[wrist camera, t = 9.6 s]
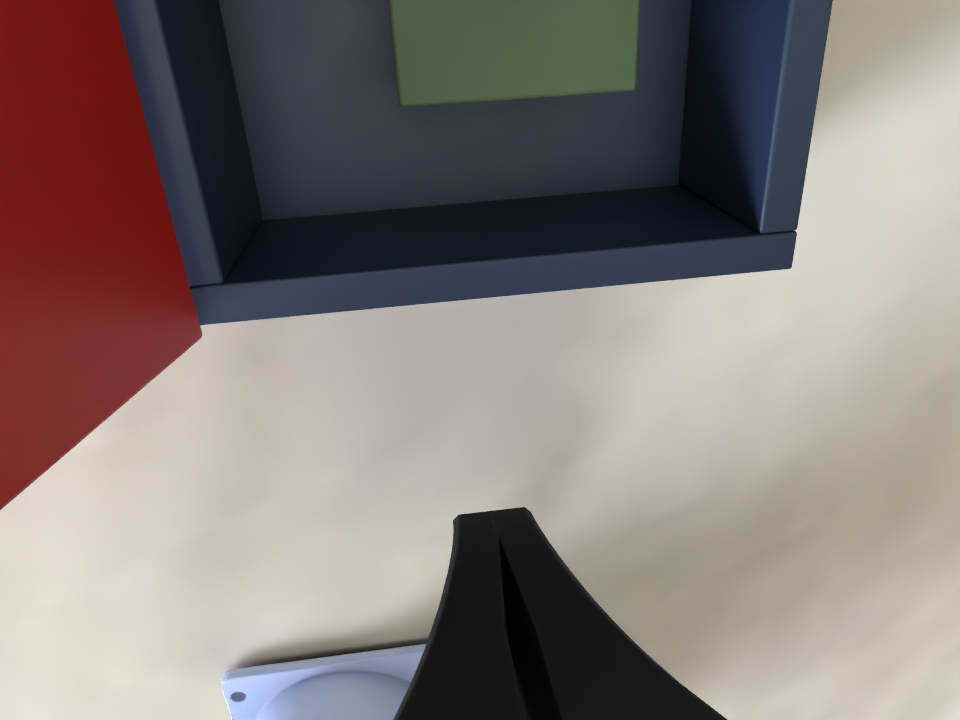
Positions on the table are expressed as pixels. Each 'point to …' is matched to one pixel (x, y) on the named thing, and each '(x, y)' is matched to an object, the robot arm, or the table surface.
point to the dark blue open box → (466, 157)
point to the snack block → (512, 49)
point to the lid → (77, 236)
